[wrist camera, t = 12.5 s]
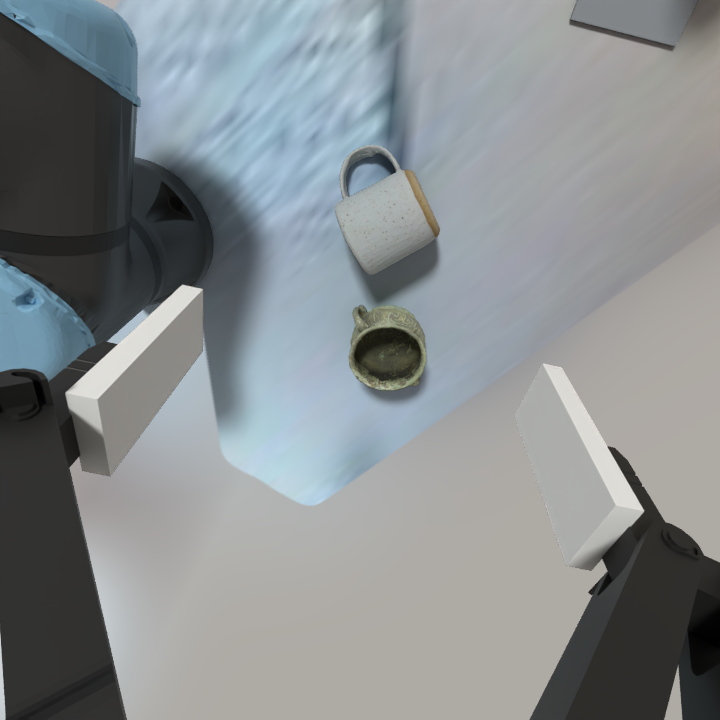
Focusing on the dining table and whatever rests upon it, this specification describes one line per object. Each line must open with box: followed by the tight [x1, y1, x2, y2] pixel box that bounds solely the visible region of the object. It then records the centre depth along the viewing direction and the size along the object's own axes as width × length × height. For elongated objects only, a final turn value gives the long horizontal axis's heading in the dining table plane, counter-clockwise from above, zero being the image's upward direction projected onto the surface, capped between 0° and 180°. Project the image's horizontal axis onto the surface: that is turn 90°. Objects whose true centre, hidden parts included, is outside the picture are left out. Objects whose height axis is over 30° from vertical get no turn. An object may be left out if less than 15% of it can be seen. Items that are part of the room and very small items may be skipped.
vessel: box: [349, 305, 426, 390], centre depth 50 cm, size 12×9×6 cm
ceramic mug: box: [335, 145, 440, 275], centre depth 41 cm, size 11×8×8 cm
